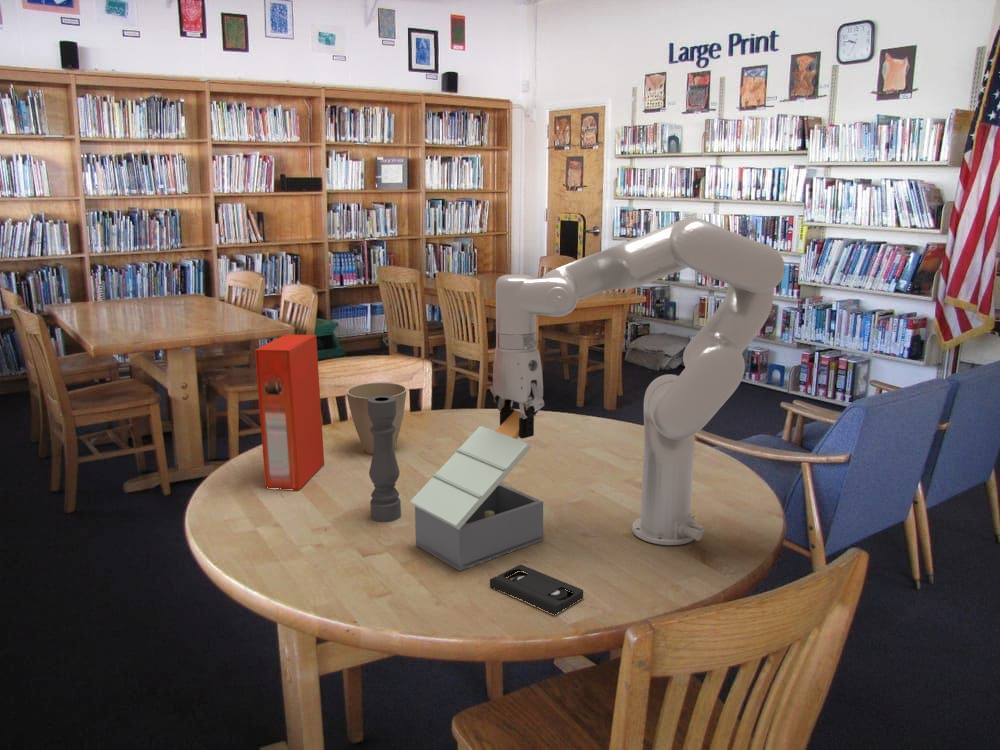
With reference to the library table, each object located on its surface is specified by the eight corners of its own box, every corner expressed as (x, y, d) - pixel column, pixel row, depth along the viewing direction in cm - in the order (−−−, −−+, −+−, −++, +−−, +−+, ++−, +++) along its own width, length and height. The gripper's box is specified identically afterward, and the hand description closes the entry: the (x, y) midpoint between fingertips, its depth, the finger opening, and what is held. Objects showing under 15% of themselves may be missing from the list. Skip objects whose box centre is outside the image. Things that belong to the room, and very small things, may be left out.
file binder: (264, 489, 190) (254, 349, 182) (292, 463, 207) (284, 334, 199) (299, 491, 189) (290, 350, 181) (324, 464, 206) (317, 335, 198)
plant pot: (355, 440, 224) (353, 382, 220) (412, 441, 223) (410, 382, 219) (343, 459, 209) (340, 397, 205) (403, 460, 209) (401, 397, 205)
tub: (542, 540, 164) (543, 501, 162) (459, 571, 151) (459, 529, 150) (497, 518, 174) (496, 481, 172) (415, 544, 162) (414, 505, 160)
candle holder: (405, 511, 178) (402, 396, 172) (394, 523, 172) (390, 404, 166) (378, 508, 179) (373, 394, 173) (365, 520, 173) (360, 402, 167)
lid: (551, 425, 159) (547, 419, 158) (459, 529, 149) (455, 524, 148) (502, 408, 170) (499, 403, 169) (413, 505, 160) (409, 500, 159)
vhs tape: (584, 601, 142) (584, 590, 142) (554, 618, 136) (554, 607, 136) (520, 574, 151) (520, 563, 151) (489, 589, 146) (489, 579, 145)
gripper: (561, 345, 155) (561, 440, 160) (503, 332, 168) (504, 420, 172) (530, 351, 151) (530, 448, 155) (472, 337, 164) (474, 427, 168)
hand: (516, 432), depth 164 cm, fingers closed on lid, 5 cm apart
